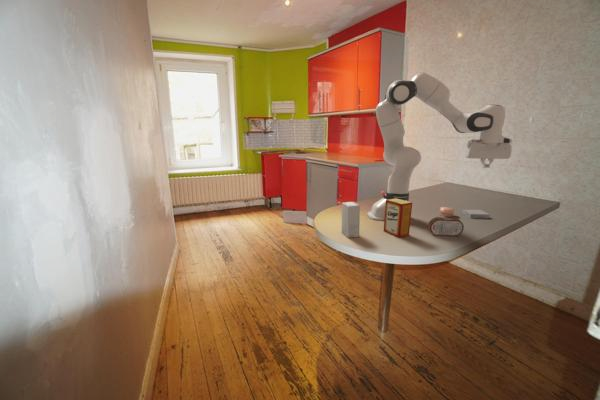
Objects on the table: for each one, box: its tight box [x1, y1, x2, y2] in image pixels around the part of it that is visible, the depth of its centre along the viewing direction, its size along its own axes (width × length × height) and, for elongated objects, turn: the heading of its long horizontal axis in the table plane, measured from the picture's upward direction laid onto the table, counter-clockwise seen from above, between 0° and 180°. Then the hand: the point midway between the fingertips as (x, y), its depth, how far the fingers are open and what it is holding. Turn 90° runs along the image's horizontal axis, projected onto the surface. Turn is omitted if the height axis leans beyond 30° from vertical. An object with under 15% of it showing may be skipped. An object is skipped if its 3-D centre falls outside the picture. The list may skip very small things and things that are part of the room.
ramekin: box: [439, 206, 455, 218], centre depth 162 cm, size 7×7×4 cm
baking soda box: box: [383, 198, 413, 239], centre depth 131 cm, size 10×6×16 cm
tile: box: [461, 209, 490, 220], centre depth 161 cm, size 10×3×9 cm
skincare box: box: [341, 201, 361, 239], centre depth 130 cm, size 8×6×15 cm
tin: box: [427, 216, 465, 237], centre depth 130 cm, size 15×3×8 cm, turn 84°
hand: (485, 167), depth 142 cm, fingers closed
